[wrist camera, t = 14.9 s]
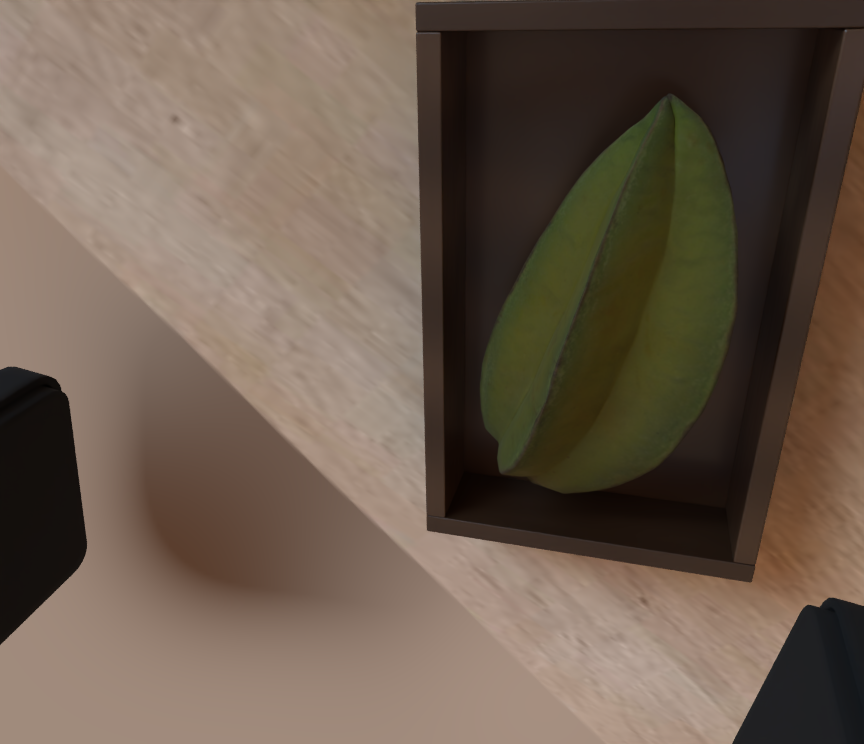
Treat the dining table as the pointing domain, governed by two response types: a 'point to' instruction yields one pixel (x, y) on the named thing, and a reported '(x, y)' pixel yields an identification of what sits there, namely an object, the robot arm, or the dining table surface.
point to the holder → (545, 191)
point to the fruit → (618, 312)
